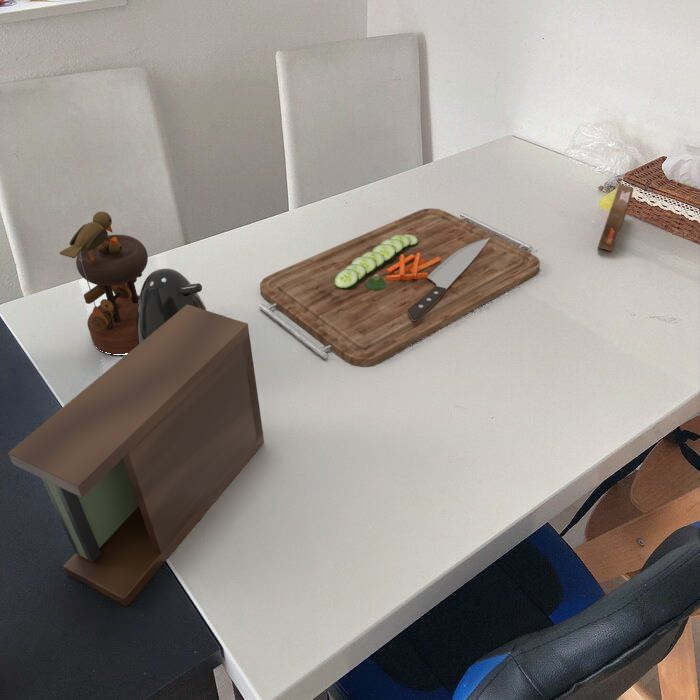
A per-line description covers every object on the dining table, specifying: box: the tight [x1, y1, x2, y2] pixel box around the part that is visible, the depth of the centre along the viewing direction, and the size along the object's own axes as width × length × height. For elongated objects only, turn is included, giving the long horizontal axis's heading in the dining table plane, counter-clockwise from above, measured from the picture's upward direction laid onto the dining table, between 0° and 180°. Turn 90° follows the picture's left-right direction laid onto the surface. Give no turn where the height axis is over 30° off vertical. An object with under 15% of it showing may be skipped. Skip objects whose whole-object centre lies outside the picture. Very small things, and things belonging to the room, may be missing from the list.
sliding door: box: [40, 458, 139, 562], centre depth 67 cm, size 2×11×14 cm, turn 152°
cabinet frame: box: [7, 305, 265, 608], centre depth 70 cm, size 8×24×18 cm, turn 153°
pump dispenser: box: [136, 267, 208, 345], centre depth 89 cm, size 10×10×15 cm
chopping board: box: [258, 207, 541, 368], centre depth 109 cm, size 45×27×3 cm, turn 130°
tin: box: [597, 182, 634, 251], centre depth 116 cm, size 15×3×8 cm, turn 155°
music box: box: [59, 211, 149, 354], centre depth 94 cm, size 15×11×20 cm
